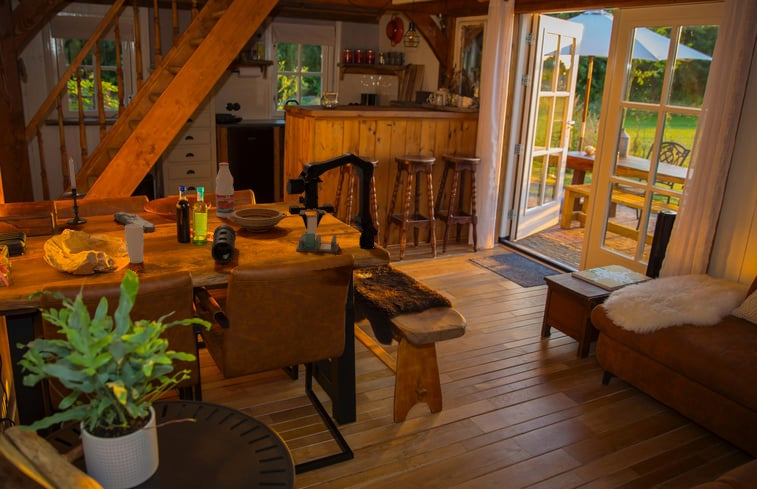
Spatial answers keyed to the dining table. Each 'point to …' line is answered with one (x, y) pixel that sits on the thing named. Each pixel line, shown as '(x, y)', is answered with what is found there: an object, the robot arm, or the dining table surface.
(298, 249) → the slot rack
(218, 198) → the fruit juice
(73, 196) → the candlestick
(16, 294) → the dining table surface
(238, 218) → the ceramic bowl
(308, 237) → the teal plug
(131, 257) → the drinking glass
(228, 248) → the muzzle brake
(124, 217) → the long grey stone
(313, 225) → the off-white plug
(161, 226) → the dining table surface
